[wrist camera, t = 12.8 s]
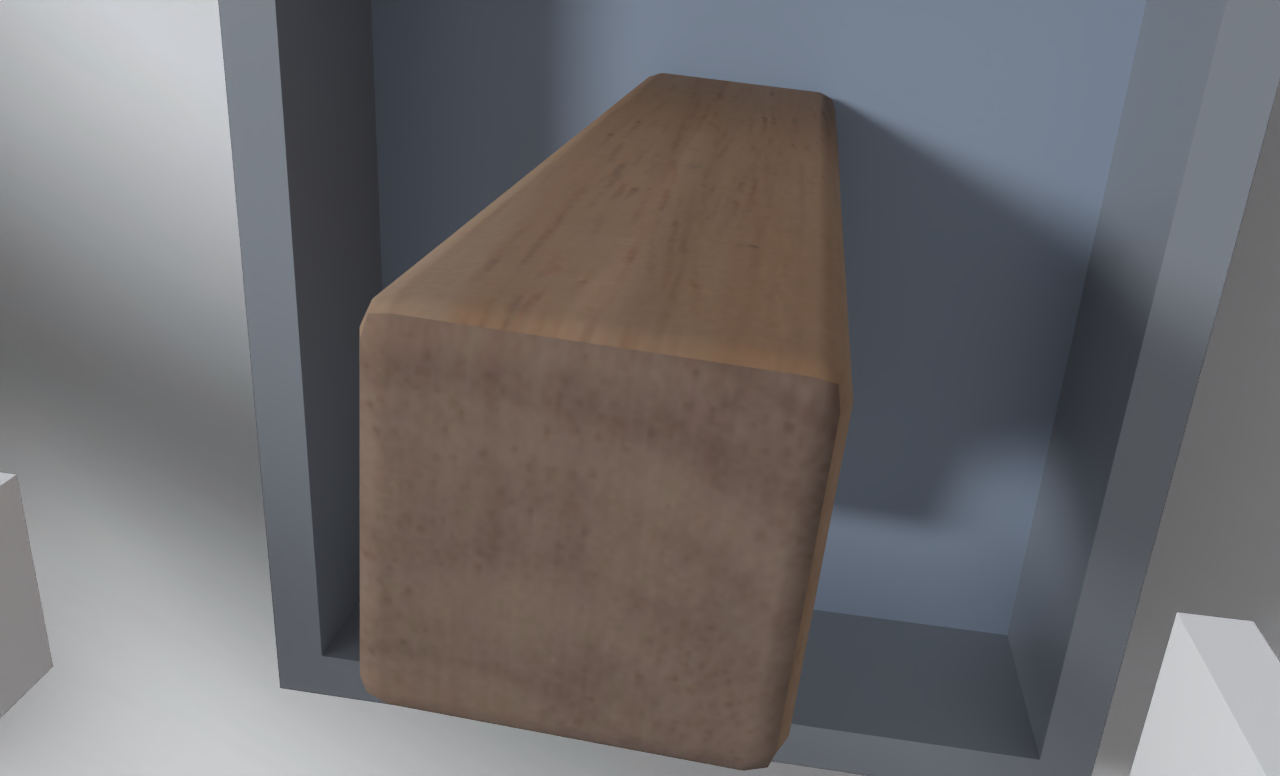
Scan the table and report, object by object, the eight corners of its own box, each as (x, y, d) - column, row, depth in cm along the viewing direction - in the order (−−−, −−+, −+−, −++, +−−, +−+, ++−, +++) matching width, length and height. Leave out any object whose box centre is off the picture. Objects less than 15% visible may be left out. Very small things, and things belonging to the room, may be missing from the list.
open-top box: (368, 566, 34) (280, 687, 28) (327, -253, 25) (190, -304, 20) (1037, 655, 31) (1082, 807, 26) (1241, -217, 23) (1372, -265, 17)
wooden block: (780, 439, 29) (722, 1097, 13) (613, 413, 30) (346, 1015, 13) (837, 92, 26) (863, 375, 9) (647, 68, 26) (342, 299, 10)
